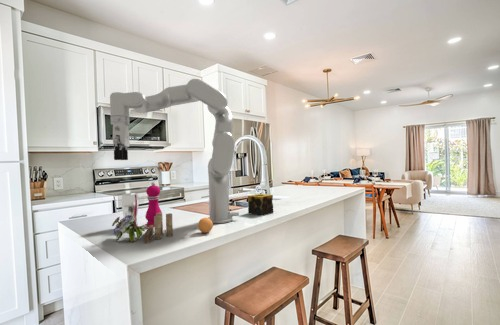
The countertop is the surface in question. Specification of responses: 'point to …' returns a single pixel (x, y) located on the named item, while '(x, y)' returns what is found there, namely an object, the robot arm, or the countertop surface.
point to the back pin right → (161, 222)
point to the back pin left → (157, 227)
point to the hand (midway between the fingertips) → (121, 159)
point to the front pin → (169, 225)
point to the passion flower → (127, 227)
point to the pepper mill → (152, 203)
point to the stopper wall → (148, 234)
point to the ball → (205, 225)
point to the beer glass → (130, 205)
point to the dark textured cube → (260, 204)
